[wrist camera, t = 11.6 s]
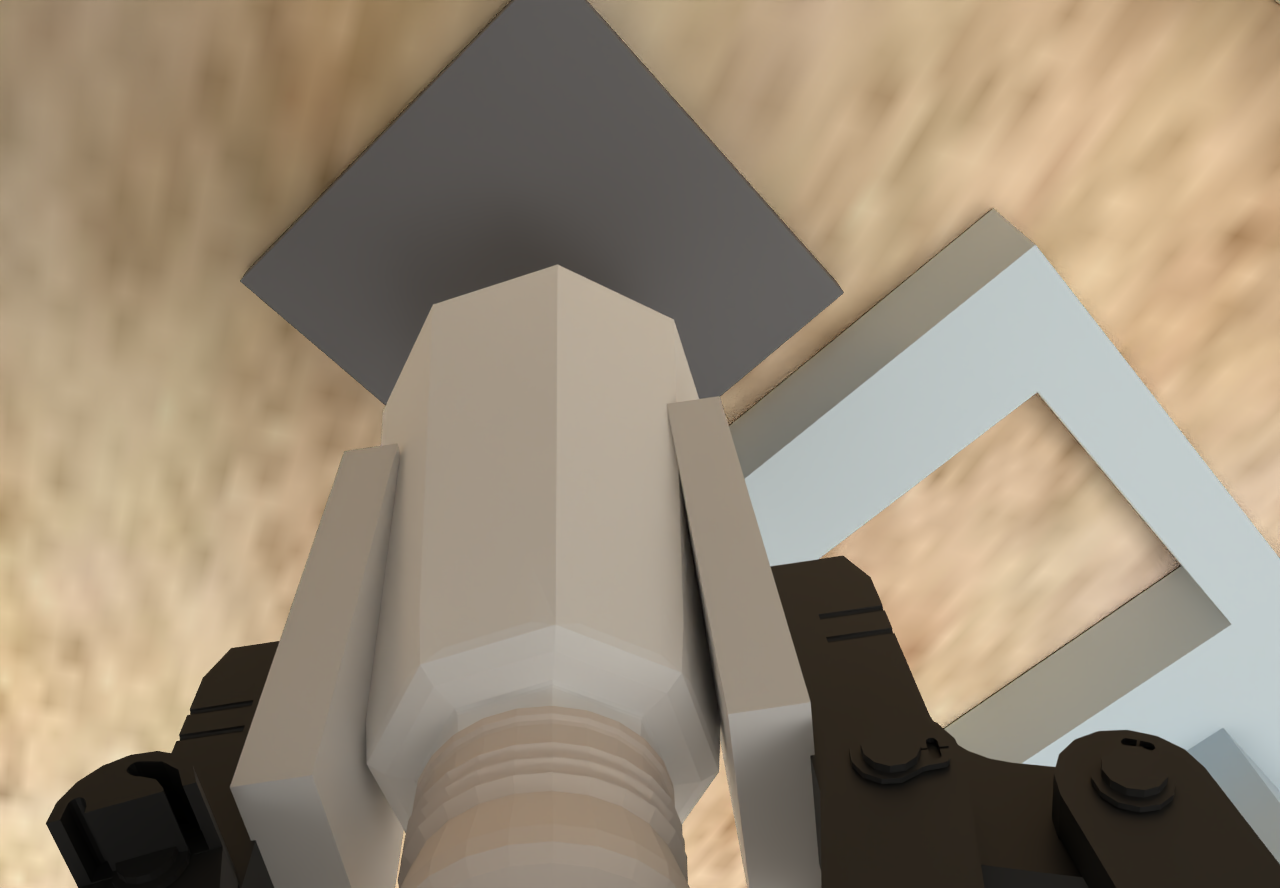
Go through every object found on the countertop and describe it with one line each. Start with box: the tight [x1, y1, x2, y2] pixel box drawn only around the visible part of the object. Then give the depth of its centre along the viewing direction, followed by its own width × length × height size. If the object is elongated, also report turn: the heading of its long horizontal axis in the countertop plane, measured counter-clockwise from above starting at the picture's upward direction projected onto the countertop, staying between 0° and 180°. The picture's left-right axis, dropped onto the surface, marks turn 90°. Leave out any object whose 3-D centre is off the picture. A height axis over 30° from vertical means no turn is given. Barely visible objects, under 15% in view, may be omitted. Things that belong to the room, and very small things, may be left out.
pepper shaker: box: [366, 264, 721, 888], centre depth 15 cm, size 5×5×11 cm
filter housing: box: [729, 209, 1280, 864], centre depth 27 cm, size 20×12×7 cm, turn 43°
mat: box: [240, 0, 844, 405], centre depth 25 cm, size 9×9×1 cm
